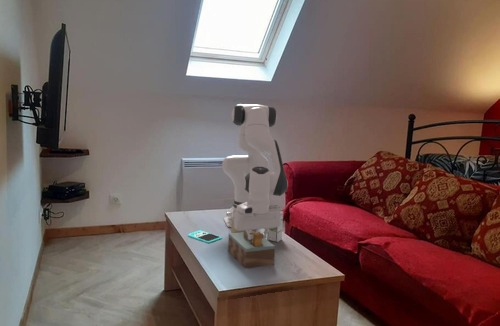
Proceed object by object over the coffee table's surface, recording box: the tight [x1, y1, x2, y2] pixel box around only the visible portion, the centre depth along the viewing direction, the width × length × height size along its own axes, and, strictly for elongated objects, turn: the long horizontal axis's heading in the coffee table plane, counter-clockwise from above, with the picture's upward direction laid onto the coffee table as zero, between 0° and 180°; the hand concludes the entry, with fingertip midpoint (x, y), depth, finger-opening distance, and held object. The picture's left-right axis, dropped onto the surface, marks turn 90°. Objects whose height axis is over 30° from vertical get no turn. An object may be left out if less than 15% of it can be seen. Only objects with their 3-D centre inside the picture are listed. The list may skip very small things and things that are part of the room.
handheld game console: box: [187, 229, 223, 244], centre depth 205 cm, size 10×16×1 cm, turn 52°
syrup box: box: [266, 211, 284, 243], centre depth 204 cm, size 6×6×14 cm
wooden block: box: [252, 231, 262, 247], centre depth 172 cm, size 3×3×13 cm
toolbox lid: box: [228, 230, 276, 252], centre depth 177 cm, size 20×13×5 cm, turn 24°
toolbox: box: [227, 236, 276, 269], centre depth 178 cm, size 20×13×8 cm, turn 24°
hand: (257, 238), depth 171 cm, fingers open, 5 cm apart
